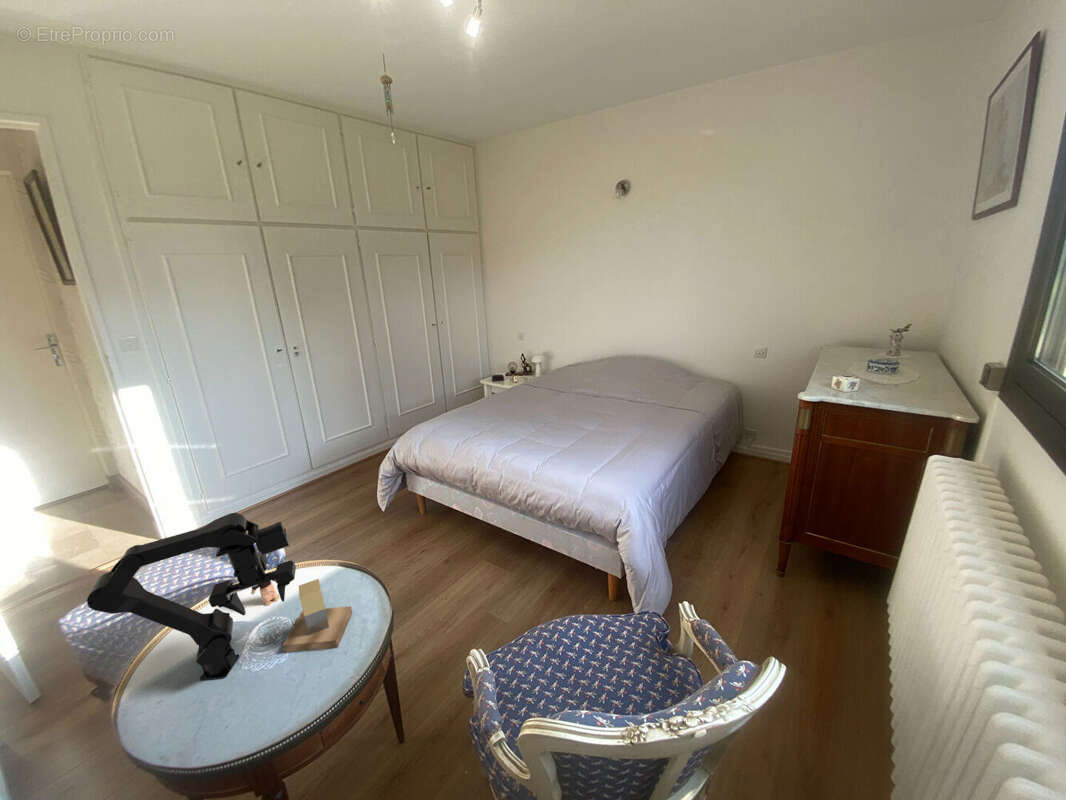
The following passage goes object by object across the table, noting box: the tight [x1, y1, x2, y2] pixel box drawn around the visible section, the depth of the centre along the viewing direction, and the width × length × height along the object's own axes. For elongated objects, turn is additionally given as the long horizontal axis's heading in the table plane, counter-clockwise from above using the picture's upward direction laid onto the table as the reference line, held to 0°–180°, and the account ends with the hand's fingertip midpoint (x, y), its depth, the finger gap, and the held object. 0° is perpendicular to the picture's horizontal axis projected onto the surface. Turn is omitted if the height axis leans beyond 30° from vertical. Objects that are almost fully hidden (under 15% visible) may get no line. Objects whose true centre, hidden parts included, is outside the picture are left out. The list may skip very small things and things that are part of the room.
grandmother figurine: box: [250, 569, 280, 606], centre depth 131 cm, size 8×4×13 cm, turn 144°
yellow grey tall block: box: [298, 578, 329, 635], centre depth 118 cm, size 5×5×13 cm
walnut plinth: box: [282, 606, 353, 653], centre depth 121 cm, size 14×12×2 cm
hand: (264, 607), depth 114 cm, fingers open, 9 cm apart
